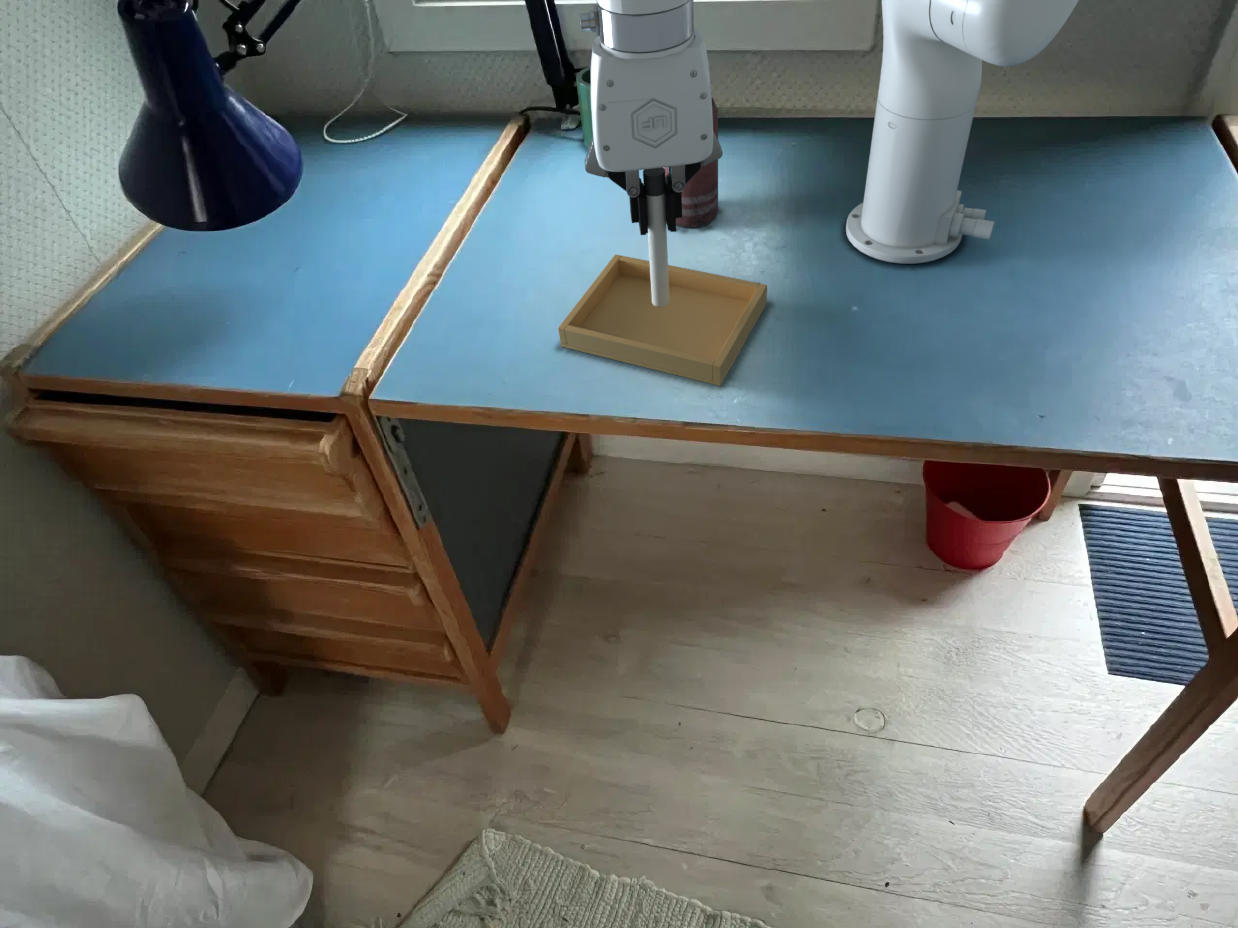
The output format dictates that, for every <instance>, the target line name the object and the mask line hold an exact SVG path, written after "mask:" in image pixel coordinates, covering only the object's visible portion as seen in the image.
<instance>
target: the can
mask: <svg viewBox="0 0 1238 928" xmlns="http://www.w3.org/2000/svg"><path fill="white" fill-rule="evenodd" d="M712 115H713V130H714V132H715V135H716V137H717V139H718V140H719V108H718V106H717V104H716V102H715V99H714V98H713V97H712ZM663 168H664V169H665V177H666V175H667V174H668V173H669V170H668V167H663ZM685 185H686V186H685V189H684V190H683V191H682V218H676V227H678V228H683V229H690V230H691V229H693V230H694V229H700V228H703V227H707V226H708V225H710V224H711V223H712V222H713V221H714V220H715V219H716V217H717V216H718V213H719V159H718V160H716V161H714V162H712V163H710V164H708V165H706V166H702V167H701V168H700V169H699V171H698V172H697V173H696V174H695V175H694V176H693V177H692V178H691V179H690V180H689V181H688V182H687V183H686V184H685Z"/></svg>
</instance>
